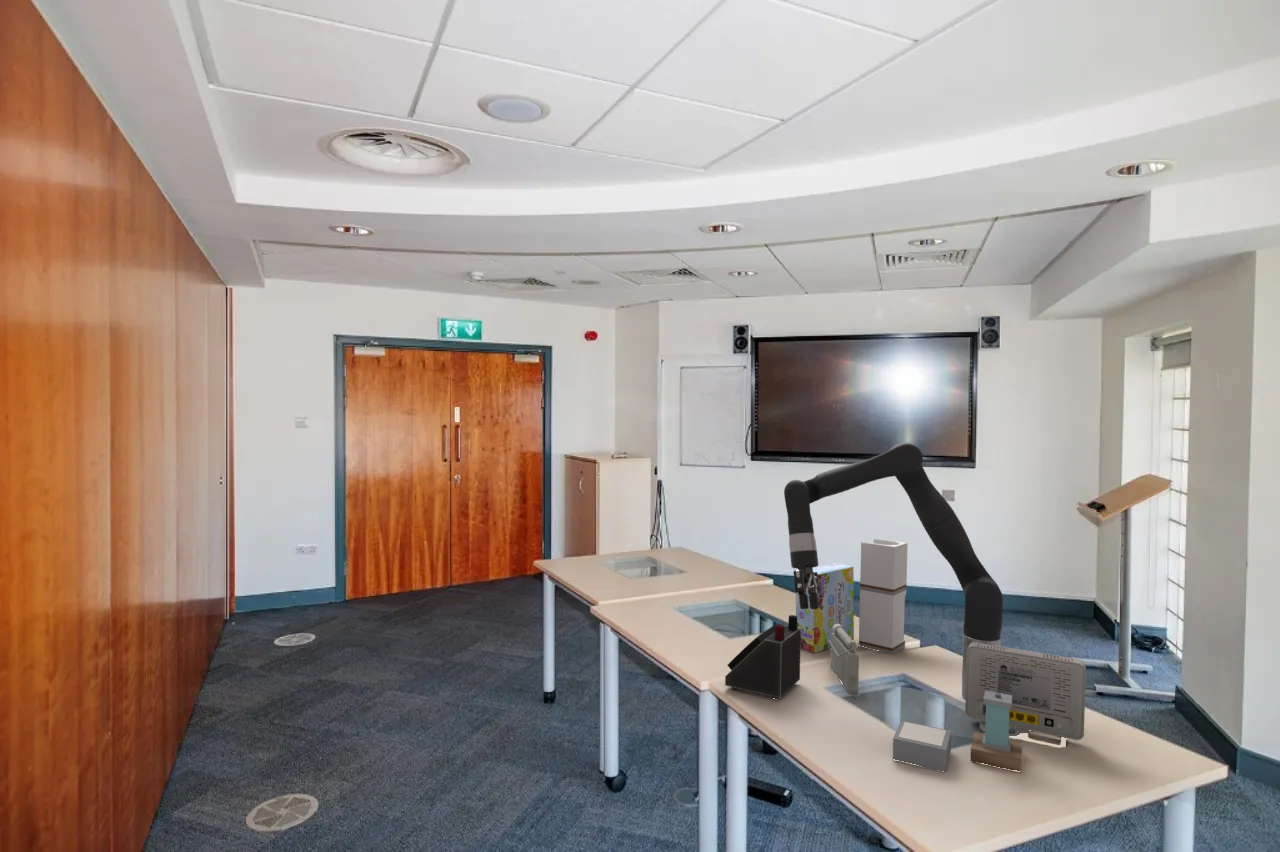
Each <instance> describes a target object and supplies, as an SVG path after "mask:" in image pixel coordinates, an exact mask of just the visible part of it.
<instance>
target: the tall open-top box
mask: <svg viewBox="0 0 1280 852" xmlns="http://www.w3.org/2000/svg"><path fill="white" fill-rule="evenodd" d="M908 544H909V543H908V542H903V541H896V540H889V539H881V538H873V543H872V542H865V541H862V542H860V571H859V573H860V578H859V579H860V580H859V581H860V582H859V613H858V614H859V619H858V620H859V622H858V623H859V624H858V646H859V645H860V646H864V647H867V648H871V649H875V650H879V651H878V652H879V653H883V654H888V655H893V654H894V655H895V654H896V653H898V652H899V651H900V650H902V649H904V648H905V647H906V641H905V638H904V637H905V607H906V606H905V605H906V604H905V603H906V602H905V601H906V595H907V587H908V586H907V584H908V583H907V580H908V577H907V576H908ZM867 648H866V649H867ZM871 649H870V650H871ZM875 650H874V651H875Z"/></svg>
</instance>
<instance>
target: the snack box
mask: <svg viewBox="0 0 1280 852" xmlns="http://www.w3.org/2000/svg"><path fill="white" fill-rule="evenodd" d="M813 572H817V574H818V582H819V589H820V593H818V595H817V599H818V609H811V608H810V601H809V594H808V592H807V594H806V595H808V604H809V608H808V609H801V608H800V600H799V595H798V593H797V592H795V616H797V627H799V628H801V648H802V650H804V649H805V650H804V651H807V650H808V652H810V651H812V652H811V653H813V652H816V653H818V652H821V651H823V650H827V649H829V646H828V640H830V642H831V636H832V633H834V632H833V629H832V628H833V625H834V624H840V625H841V626H842V627H843V628H844V631H845V632H846V633H847V634H848V636H849V637H850V636H851V639H852V640H853V641H854V640H855V633H854V632H855V627H854V625H855V619H854V618H855V614H854V613H855V612H854V609H855V606H854V603H855V601H854V599H855V598H854V597H855V595H854V590H855V589H854V588H855V587H854V580H855V579H854V575H855V574H854V566H852V565H848V564H847V565H846V564H843V563H842V564H841V563H835V562H834V563H830V564H826V565H818V566H817V567H813ZM800 584H801V583H800ZM829 644H830V643H829ZM830 647H831V645H830Z"/></svg>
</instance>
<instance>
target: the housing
mask: <svg viewBox="0 0 1280 852" xmlns="http://www.w3.org/2000/svg"><path fill="white" fill-rule="evenodd" d="M983 703H986V723H985V732H984V733H983V734H984V736H983V742H982V747H984V748H989V749H994V750H998V751H1003V752H1008V753H1010V748H1011V739H1012V738H1009V734H1010V732H1009V731H1010V728H1009V727H1010V726H1009V708H1011V707H1012V695H1007V694H1002V693H996V692H991V691H985V694H984V702H983Z"/></svg>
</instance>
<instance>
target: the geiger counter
mask: <svg viewBox="0 0 1280 852" xmlns="http://www.w3.org/2000/svg"><path fill="white" fill-rule="evenodd" d="M832 629H833V632H834V633H832V636H831V642H830V640H828V646H829V648H828V650H829V652H830V669H831V670H833V671H832V672H833V674H834V673H835V674H836V675H837V677H838V678H839V679H840V680H841V681H842V683H843V685H842V687H843V688H844V690H845V691H846V693H848V694H849V693H851V694H855V693H857V694H858V693H859V684H860V683H859V674H860V673H859V672H860V671H859V669H860V667H859V666H860V654H859V652H858V651H857V650H856V649H857V644H856V643H855V641H854V640H852V639H851V636H850V637H849V636H848V634H847V633H846V632H845V631H844V628H843V627H842V626H841V625H840V624H834V625H833V628H832ZM829 643H830V644H829ZM830 645H831V648H830ZM835 674H834V675H835ZM836 675H835V676H836ZM837 677H836V678H837ZM838 678H837V679H838Z"/></svg>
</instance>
